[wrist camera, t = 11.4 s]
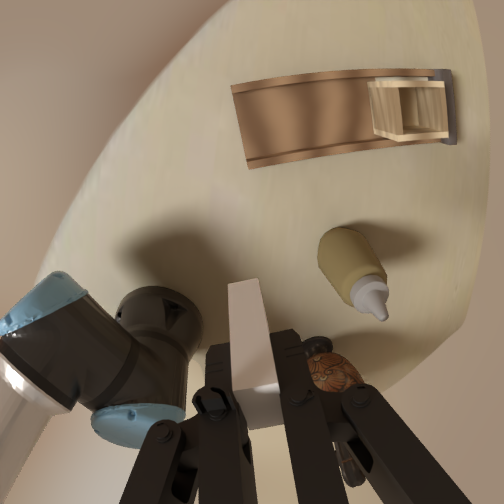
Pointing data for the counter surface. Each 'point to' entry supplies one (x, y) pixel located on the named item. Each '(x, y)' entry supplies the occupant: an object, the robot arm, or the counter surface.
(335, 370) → the vase
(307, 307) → the counter surface
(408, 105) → the crate
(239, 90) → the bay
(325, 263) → the squeeze bottle
